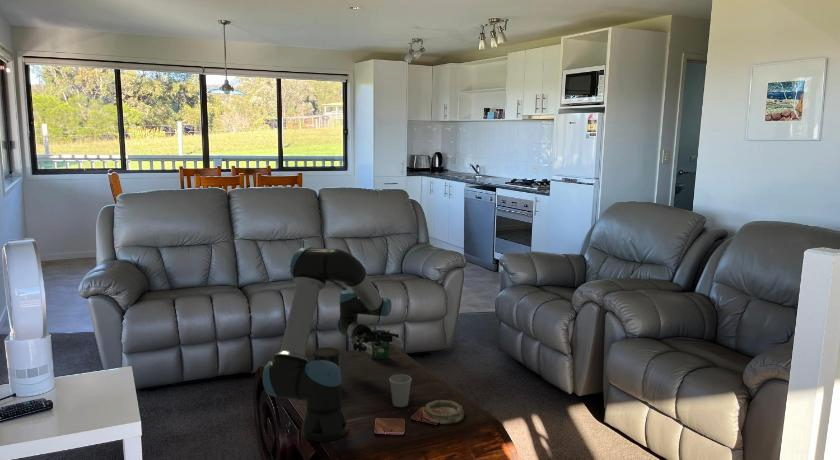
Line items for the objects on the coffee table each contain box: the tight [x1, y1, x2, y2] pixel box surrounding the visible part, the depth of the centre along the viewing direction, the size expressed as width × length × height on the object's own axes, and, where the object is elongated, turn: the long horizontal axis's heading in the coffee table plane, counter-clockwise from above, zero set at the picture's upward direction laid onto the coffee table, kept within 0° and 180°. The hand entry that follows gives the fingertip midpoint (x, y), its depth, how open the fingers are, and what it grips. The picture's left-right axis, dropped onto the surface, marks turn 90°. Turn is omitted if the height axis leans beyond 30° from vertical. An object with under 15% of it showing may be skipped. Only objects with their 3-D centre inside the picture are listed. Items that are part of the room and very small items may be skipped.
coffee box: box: [371, 328, 391, 360], centre depth 271 cm, size 8×3×13 cm, turn 88°
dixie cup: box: [388, 374, 413, 408], centre depth 223 cm, size 8×8×10 cm
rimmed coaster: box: [423, 399, 465, 425], centre depth 215 cm, size 15×15×2 cm
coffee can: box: [313, 347, 341, 369], centre depth 240 cm, size 10×10×14 cm
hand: (387, 347), depth 229 cm, fingers open, 13 cm apart
